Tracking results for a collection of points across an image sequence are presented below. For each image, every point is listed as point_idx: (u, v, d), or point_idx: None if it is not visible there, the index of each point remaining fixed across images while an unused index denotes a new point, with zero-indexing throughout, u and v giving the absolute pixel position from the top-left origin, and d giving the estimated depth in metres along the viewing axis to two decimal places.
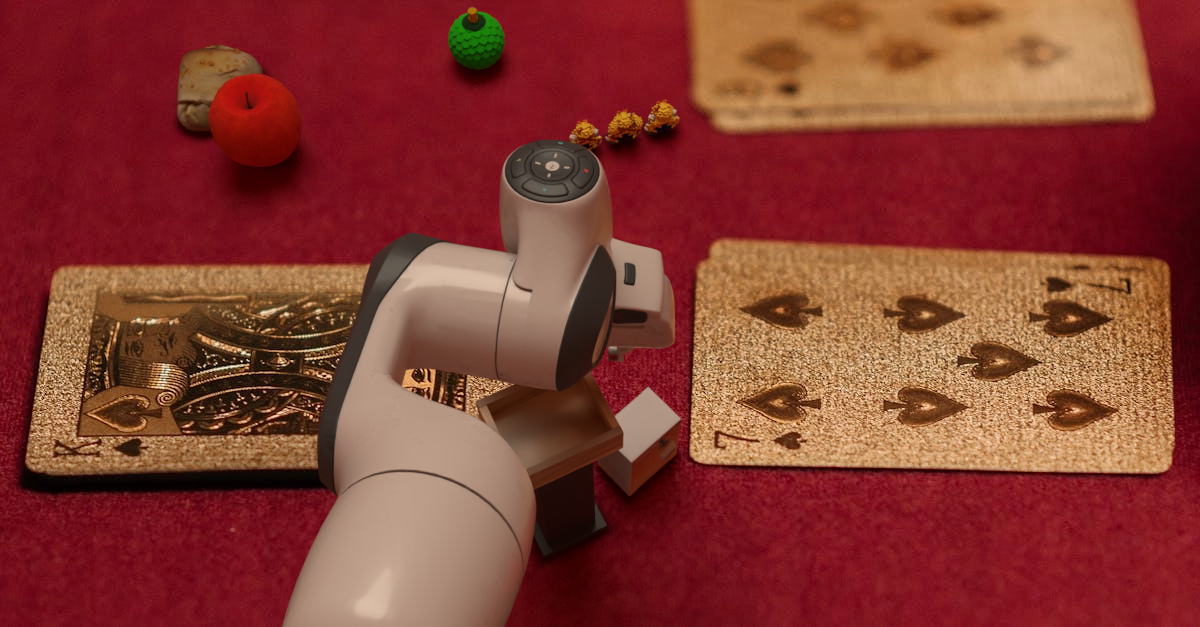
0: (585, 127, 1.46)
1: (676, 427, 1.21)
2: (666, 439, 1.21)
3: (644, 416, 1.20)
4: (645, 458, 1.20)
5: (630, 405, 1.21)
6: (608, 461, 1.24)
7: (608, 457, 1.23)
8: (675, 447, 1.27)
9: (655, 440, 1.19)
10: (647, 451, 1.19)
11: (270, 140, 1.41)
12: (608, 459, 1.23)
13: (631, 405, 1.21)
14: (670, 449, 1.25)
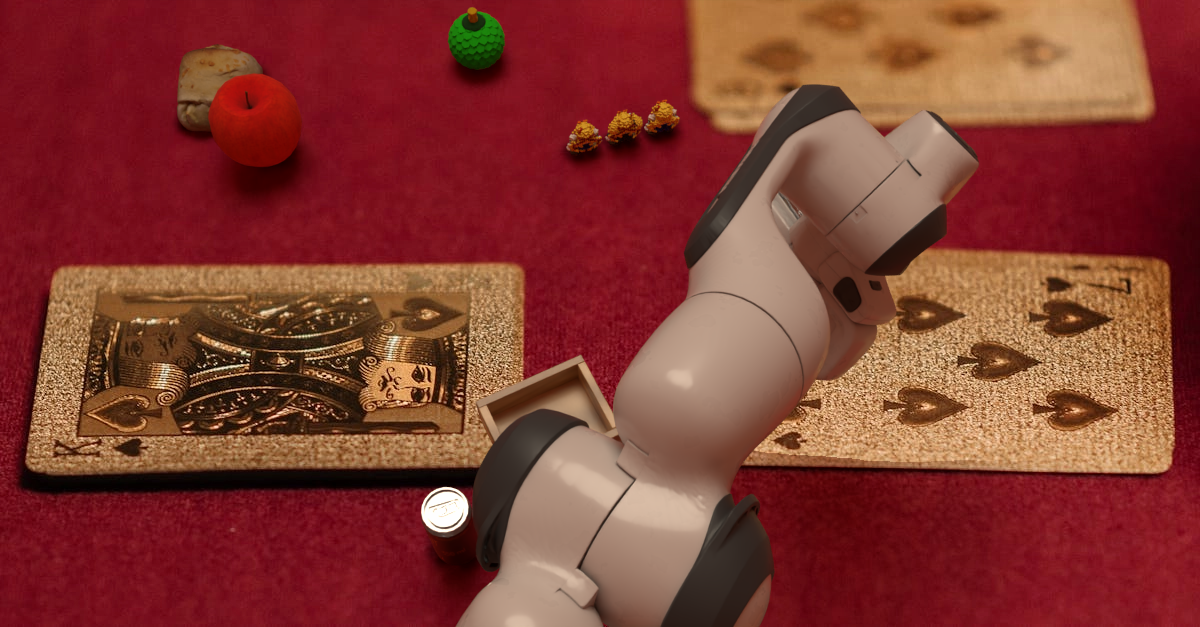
0: (585, 127, 1.46)
1: None
2: None
3: None
4: None
5: None
6: None
7: None
8: None
9: None
10: None
11: (270, 140, 1.41)
12: None
13: None
14: None
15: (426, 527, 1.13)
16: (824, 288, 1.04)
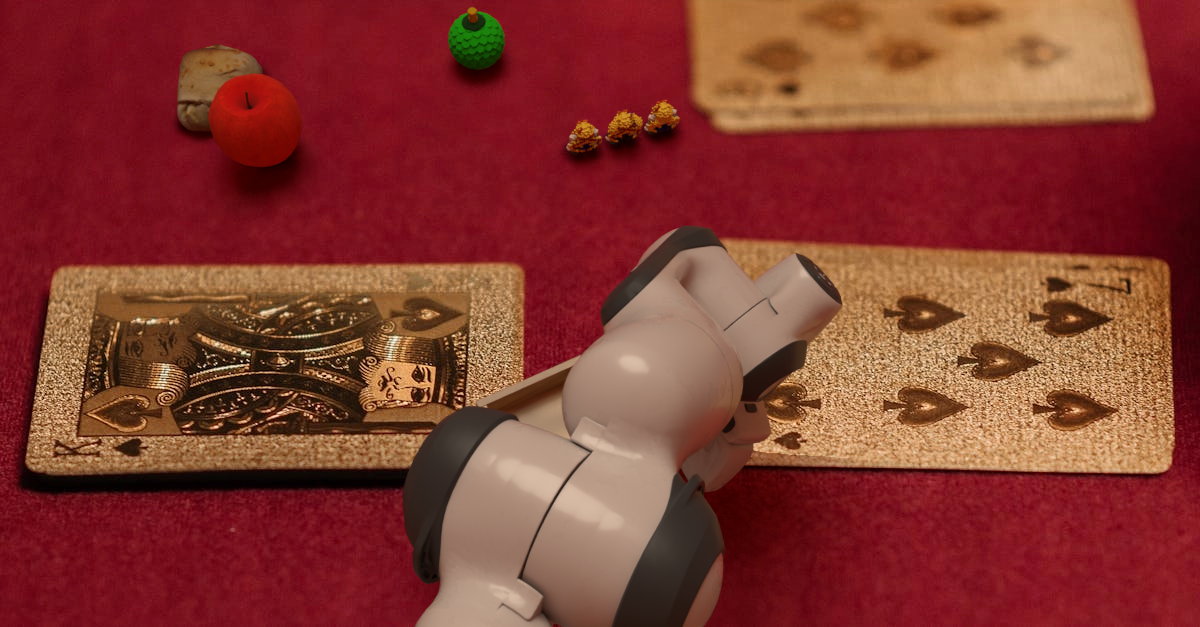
0: (585, 127, 1.46)
1: None
2: None
3: None
4: None
5: None
6: None
7: None
8: None
9: None
10: None
11: (270, 140, 1.41)
12: None
13: None
14: None
15: None
16: None
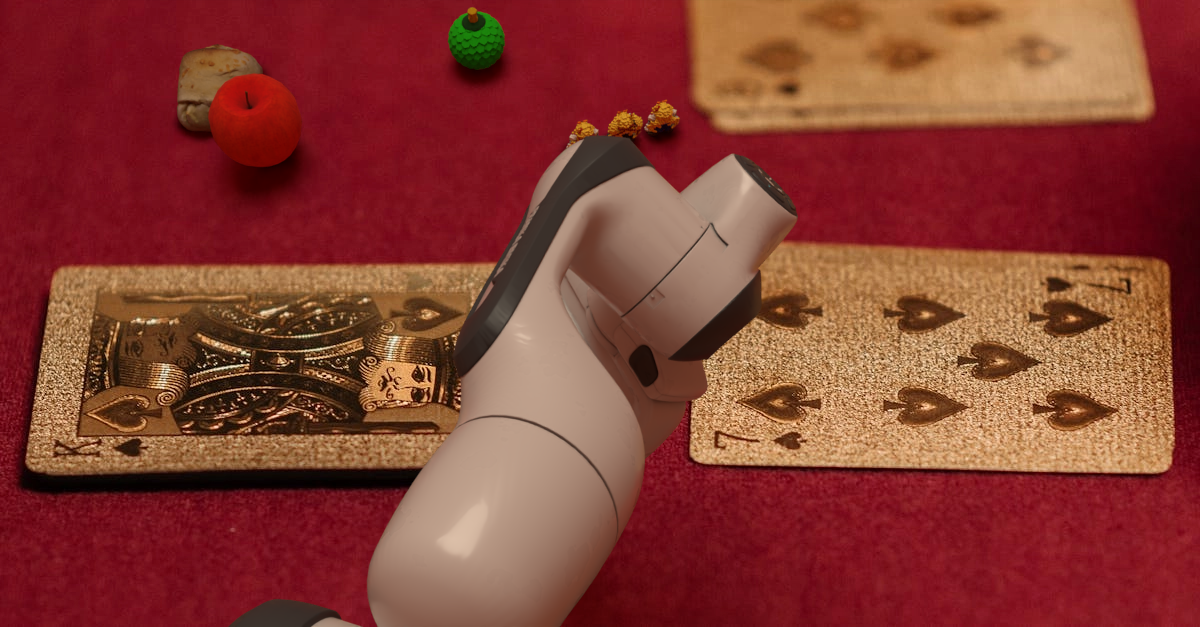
0: (585, 127, 1.46)
1: None
2: None
3: None
4: None
5: None
6: None
7: None
8: None
9: None
10: None
11: (270, 140, 1.41)
12: None
13: None
14: None
15: None
16: (621, 356, 0.89)
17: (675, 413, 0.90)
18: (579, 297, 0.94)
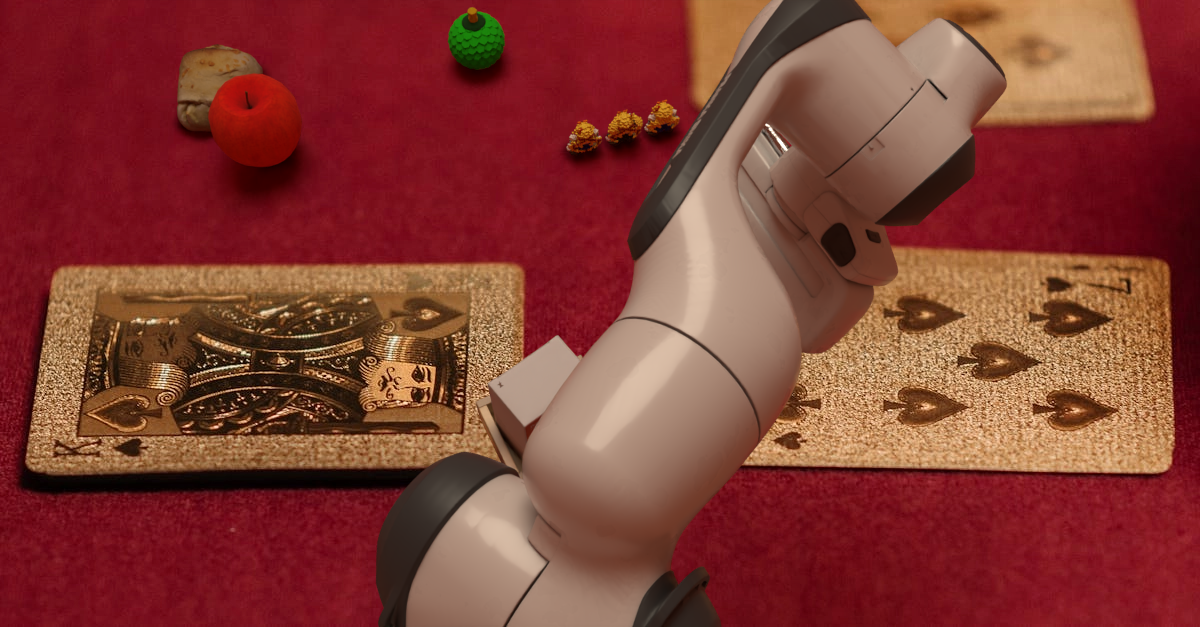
0: (585, 127, 1.46)
1: None
2: None
3: (548, 370, 0.95)
4: None
5: (532, 356, 0.96)
6: (504, 425, 0.99)
7: (503, 420, 0.98)
8: None
9: None
10: None
11: (270, 140, 1.41)
12: (503, 423, 0.99)
13: (533, 356, 0.96)
14: None
15: None
16: (810, 238, 0.85)
17: (865, 298, 0.86)
18: (756, 182, 0.90)
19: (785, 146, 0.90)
